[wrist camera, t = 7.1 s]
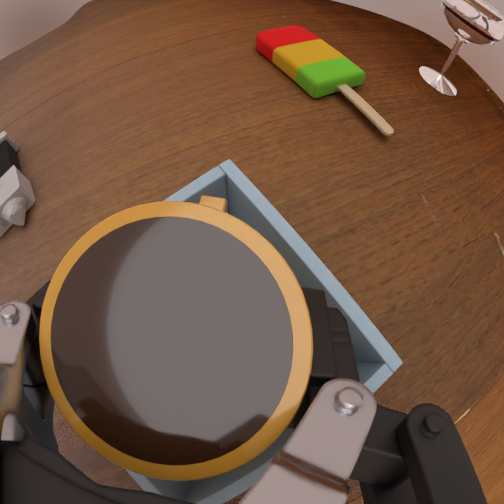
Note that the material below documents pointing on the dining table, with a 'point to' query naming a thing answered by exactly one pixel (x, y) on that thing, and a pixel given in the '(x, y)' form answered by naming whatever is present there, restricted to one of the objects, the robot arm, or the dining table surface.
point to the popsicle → (316, 67)
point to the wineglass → (465, 35)
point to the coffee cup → (176, 340)
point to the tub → (308, 275)
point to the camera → (12, 187)
